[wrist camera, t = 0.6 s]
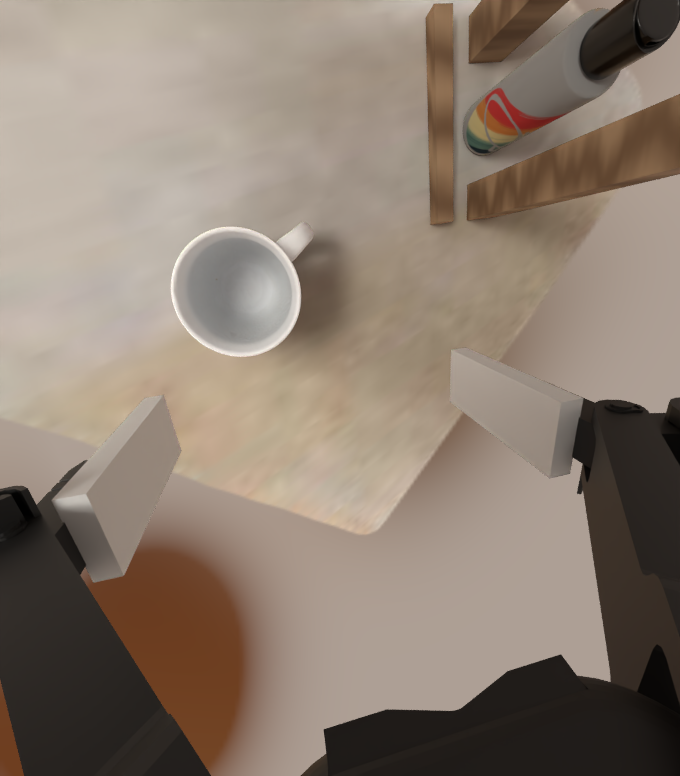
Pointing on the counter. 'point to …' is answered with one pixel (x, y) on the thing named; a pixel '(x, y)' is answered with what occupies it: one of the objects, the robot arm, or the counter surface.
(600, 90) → the lotion bottle
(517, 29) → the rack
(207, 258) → the mug
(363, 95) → the counter surface
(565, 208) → the counter surface
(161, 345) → the counter surface
